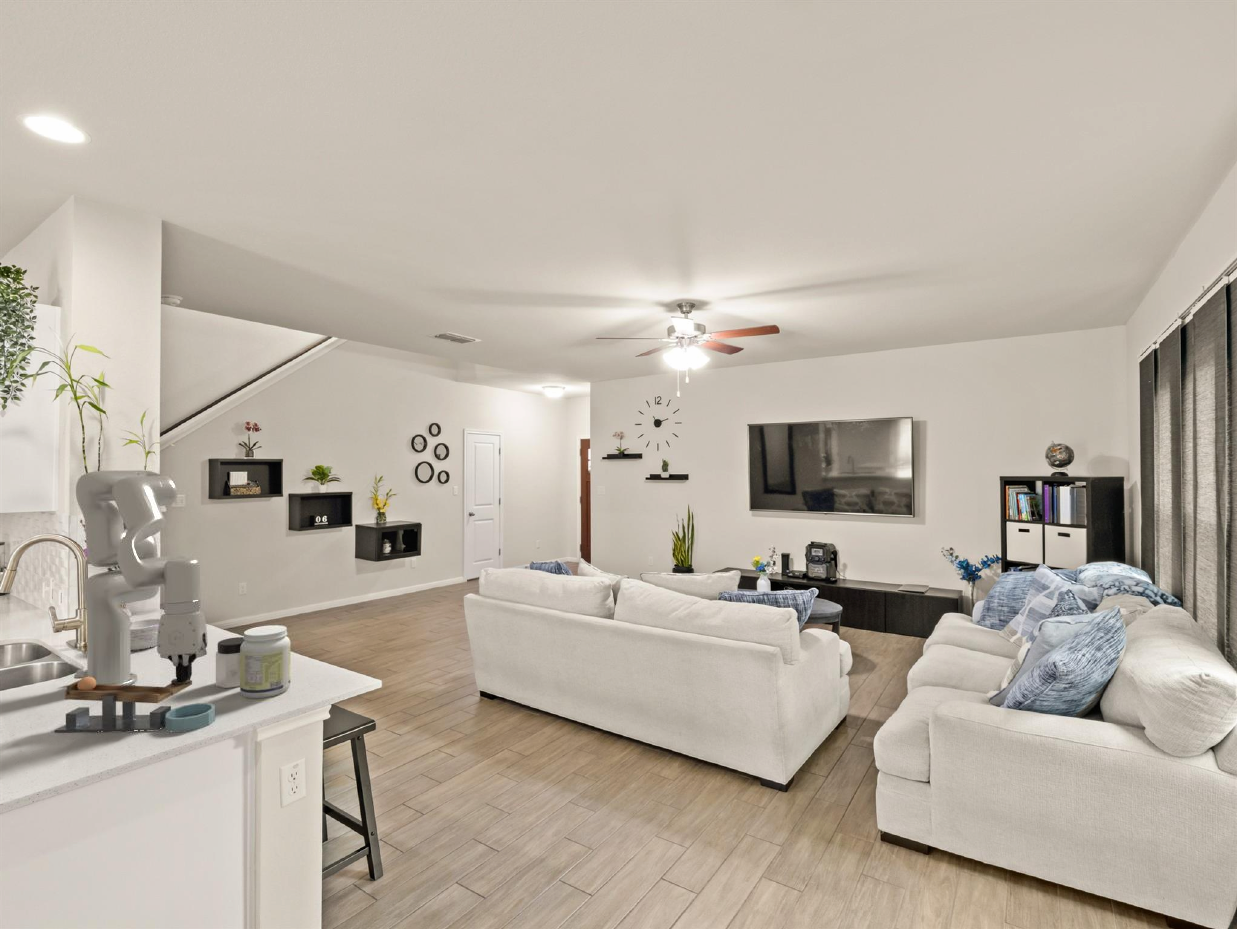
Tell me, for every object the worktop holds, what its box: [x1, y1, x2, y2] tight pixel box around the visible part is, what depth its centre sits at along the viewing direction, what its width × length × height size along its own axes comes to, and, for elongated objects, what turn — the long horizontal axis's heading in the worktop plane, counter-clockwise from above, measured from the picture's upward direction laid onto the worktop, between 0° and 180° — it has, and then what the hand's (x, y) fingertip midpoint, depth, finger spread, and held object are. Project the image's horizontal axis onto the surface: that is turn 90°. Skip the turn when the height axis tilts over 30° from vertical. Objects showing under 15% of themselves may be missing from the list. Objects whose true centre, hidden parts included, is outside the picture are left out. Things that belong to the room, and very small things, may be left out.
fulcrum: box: [54, 684, 172, 734], centre depth 154 cm, size 23×8×8 cm, turn 93°
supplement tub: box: [239, 624, 292, 699], centre depth 176 cm, size 12×12×17 cm
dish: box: [165, 702, 216, 733], centre depth 155 cm, size 10×10×3 cm
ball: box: [77, 677, 96, 691], centre depth 153 cm, size 4×4×4 cm
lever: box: [64, 677, 193, 704], centre depth 158 cm, size 22×13×3 cm, turn 93°
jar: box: [215, 636, 245, 689], centre depth 182 cm, size 9×8×12 cm
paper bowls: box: [130, 618, 160, 651], centre depth 217 cm, size 15×15×8 cm
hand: (183, 680), depth 163 cm, fingers closed
